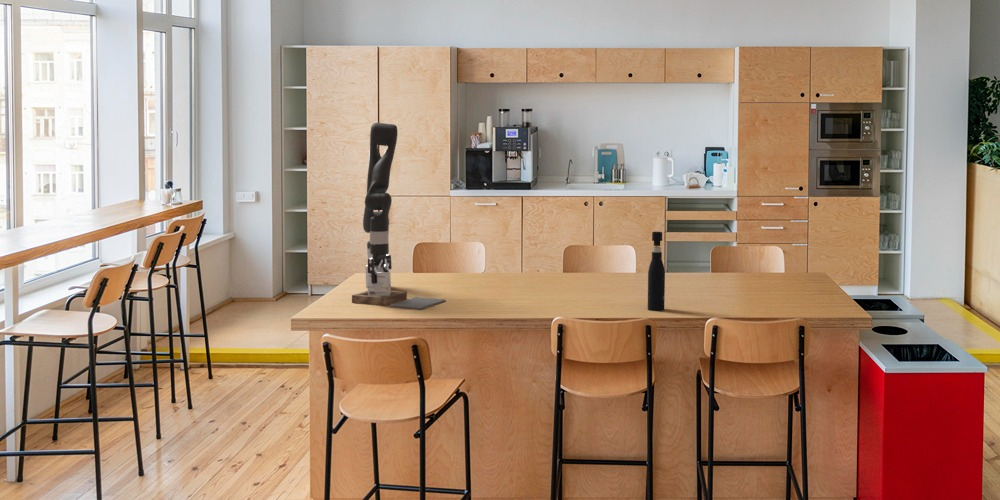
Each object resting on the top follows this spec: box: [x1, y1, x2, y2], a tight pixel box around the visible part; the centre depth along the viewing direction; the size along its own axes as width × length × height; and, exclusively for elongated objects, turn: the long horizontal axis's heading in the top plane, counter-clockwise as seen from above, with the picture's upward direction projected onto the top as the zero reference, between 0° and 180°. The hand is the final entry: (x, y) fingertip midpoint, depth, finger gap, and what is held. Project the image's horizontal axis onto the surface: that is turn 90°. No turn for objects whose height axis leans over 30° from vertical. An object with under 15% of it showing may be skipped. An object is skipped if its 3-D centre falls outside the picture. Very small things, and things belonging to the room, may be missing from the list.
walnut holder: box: [351, 290, 408, 306], centre depth 421 cm, size 16×16×3 cm
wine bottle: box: [647, 231, 666, 312], centre depth 399 cm, size 6×6×30 cm
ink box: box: [367, 271, 392, 297], centre depth 421 cm, size 8×5×12 cm, turn 79°
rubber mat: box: [389, 296, 447, 311], centre depth 414 cm, size 14×20×1 cm
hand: (380, 282), depth 420 cm, fingers open, 8 cm apart
